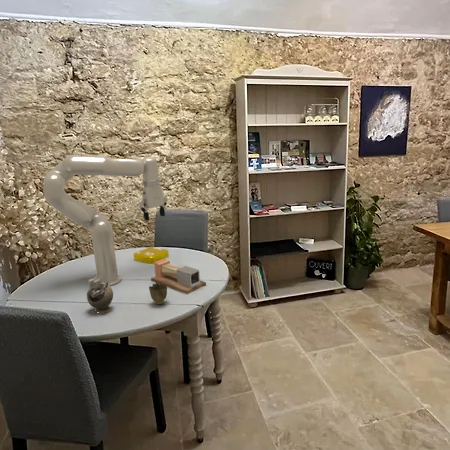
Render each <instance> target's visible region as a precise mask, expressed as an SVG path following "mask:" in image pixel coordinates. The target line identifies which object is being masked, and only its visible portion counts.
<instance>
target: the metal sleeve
mask: <svg viewBox="0 0 450 450" xmlns="http://www.w3.org/2000/svg"><path fill="white" fill-rule="evenodd" d="M176 271H177V282H178V284H180V285H183V286H185V287H188V288H193V287H195V286H197V285H200V280H201V276H200V269H198V268H193V267H191V266H187V265H185V266H182V268H179V269H177V270H176Z"/></svg>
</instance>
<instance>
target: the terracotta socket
mask: <svg viewBox="0 0 450 450" xmlns="http://www.w3.org/2000/svg"><path fill="white" fill-rule="evenodd" d="M166 263H169V264H171V261H170V260H168V259H167V258H165V259H162V260H160V261H157V262H154V274H155V276H156V277H159V278H162V277H165V276H167V275H165V274H162V270H161V265H163V264H166Z"/></svg>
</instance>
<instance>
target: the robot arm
mask: <svg viewBox="0 0 450 450" xmlns="http://www.w3.org/2000/svg"><path fill="white" fill-rule="evenodd" d="M76 175H77V176H80V175H81V176H87V175H88V176H107V177H108V176H113V177H115V176H116V177H117V176H118V177H119V176H120V177H121V176H122V177H139V176H142V182H141V186H142V191H141V192H142V193H141V194H142V200H141V201H140V202H139V203H138V204H137V206H138V208H139V210H140V212H141V211H142V213H143V219H144V220H145V221H149V220H150V214H149V209H153V208H157V207H159V216H161V217H165V216H166V213H165V212H166V210H165V209H166V206H167V204H168V200H169V199H168V198H166V197H164V193H163V188H162V186H161V185H160V177H159V167H158V160H157V158H155V157H147V158H146V157H145V158H129V159H126V158H123V159H121V158H112V157H108V156H102V155H101V156H98V155H96V156H95V155H78V154H77V155H76V154H70V155H68V156H66V157H65V158H63V160H62V161H61V162H59V163H58V164H57V165H56V166H55V167H53V168H52V169H51V170H50V171H48V172H47V173H46V174H45V175H44V178H43V188H42V189H43V190H42V192H43V193H42V194H43V196H44V199H45V200H46V202H47V203H48V204H49V205H50V206H51V207H52V208H53V209H55V210H56V211H58V212H59V213H60V214H62V215H63V216H65V217H66V218H68V219H69V220H70V221H72V222H73V223H74V224H76V225H78V226H82V227H84V228H85V229H86V230H87V231H90V234H91V242H92V248H93V249H92V250H93V255H94V256H93V257H94V263H95V271H96V274H95V275H94V277H93V278H89V279H87V282H88V284H90V285H91V284H92V282H93V283H95V284H97V283H105V284H106V283H108V285H109V286H110V287H111V286H115V285H118V284H119V283H120V282H121V281H122V278H123V277H122V276H121V275H119V274H118V268H117V267H118V265H117V259H116V251H115V242H114V231H113V226H112V224H111V223H110V221H109V220H108V219H107V217H105V216H104V215H102V214H101V213H99V212H98V211H97V210H96V209H94V208H92V206H89V205H88V204H87V203H84V202H80V201H78V200H76V199H75V198H74V197H73V196H71V195H70V194H68V193H67V192H66V191H65V187H66V186H65V185H66V184H67V183H68V182H69V181H71V179H73V178H74V177H75V176H76Z"/></svg>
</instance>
